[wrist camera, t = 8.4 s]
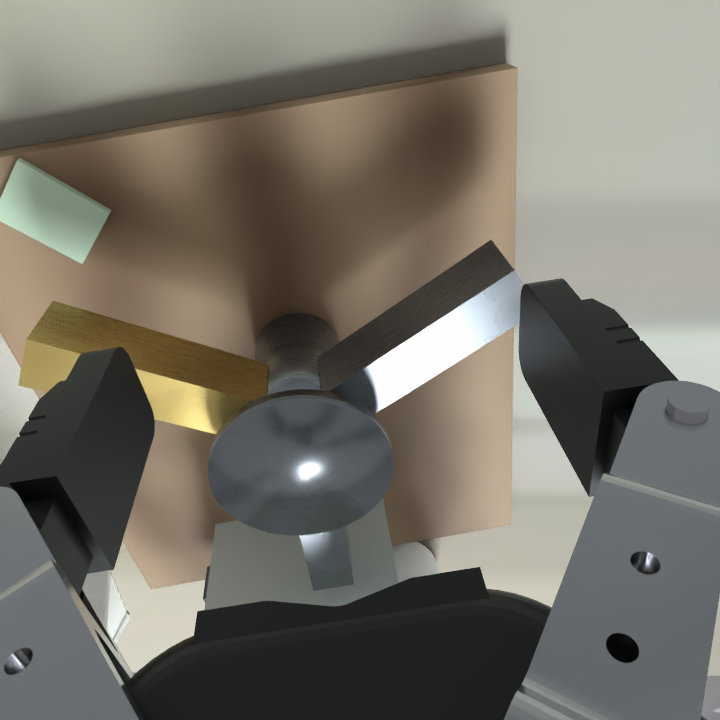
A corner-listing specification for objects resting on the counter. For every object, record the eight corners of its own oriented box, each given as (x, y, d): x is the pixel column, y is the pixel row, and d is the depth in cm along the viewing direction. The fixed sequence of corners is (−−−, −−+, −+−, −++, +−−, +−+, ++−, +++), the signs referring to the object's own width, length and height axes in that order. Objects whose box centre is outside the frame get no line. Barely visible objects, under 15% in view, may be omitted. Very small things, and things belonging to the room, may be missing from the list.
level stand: (382, 494, 31) (417, 685, 23) (391, 546, 33) (425, 735, 25) (194, 527, 31) (162, 732, 23) (218, 577, 33) (196, 777, 25)
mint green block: (111, 210, 21) (109, 213, 21) (84, 260, 22) (82, 264, 22) (20, 157, 20) (17, 160, 20) (-5, 213, 21) (-8, 216, 20)
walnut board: (506, 63, 21) (517, 68, 20) (504, 508, 34) (510, 524, 34) (-75, 163, 21) (-93, 173, 20) (154, 571, 34) (150, 589, 33)
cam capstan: (122, 59, 18) (39, 106, 12) (501, 222, 23) (581, 317, 17) (43, 436, 26) (-30, 580, 20) (336, 502, 30) (349, 636, 24)
